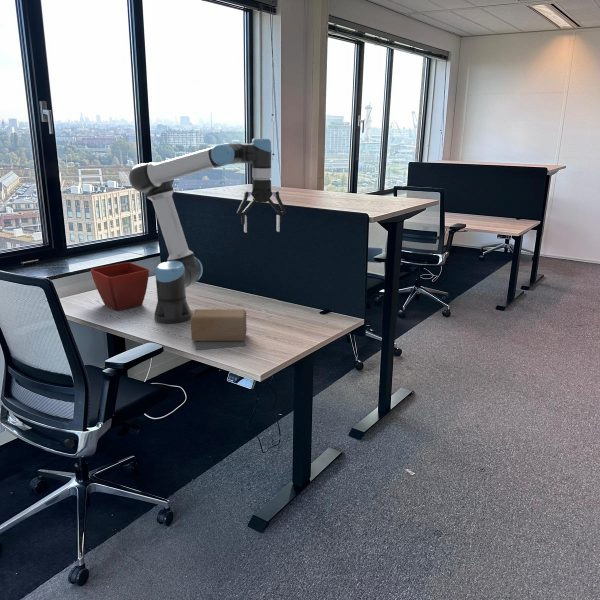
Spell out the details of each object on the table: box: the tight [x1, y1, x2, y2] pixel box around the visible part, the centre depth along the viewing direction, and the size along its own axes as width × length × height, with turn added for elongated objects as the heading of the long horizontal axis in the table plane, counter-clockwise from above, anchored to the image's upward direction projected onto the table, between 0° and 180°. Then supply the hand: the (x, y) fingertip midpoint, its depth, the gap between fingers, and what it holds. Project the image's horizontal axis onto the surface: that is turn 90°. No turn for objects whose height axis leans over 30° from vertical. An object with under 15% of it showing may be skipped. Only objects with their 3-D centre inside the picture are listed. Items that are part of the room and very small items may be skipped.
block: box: [189, 308, 248, 342], centre depth 203 cm, size 10×10×20 cm
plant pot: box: [90, 261, 150, 311], centre depth 240 cm, size 19×19×17 cm
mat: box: [194, 340, 246, 351], centre depth 201 cm, size 18×12×1 cm, turn 105°
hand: (261, 231), depth 219 cm, fingers open, 13 cm apart
